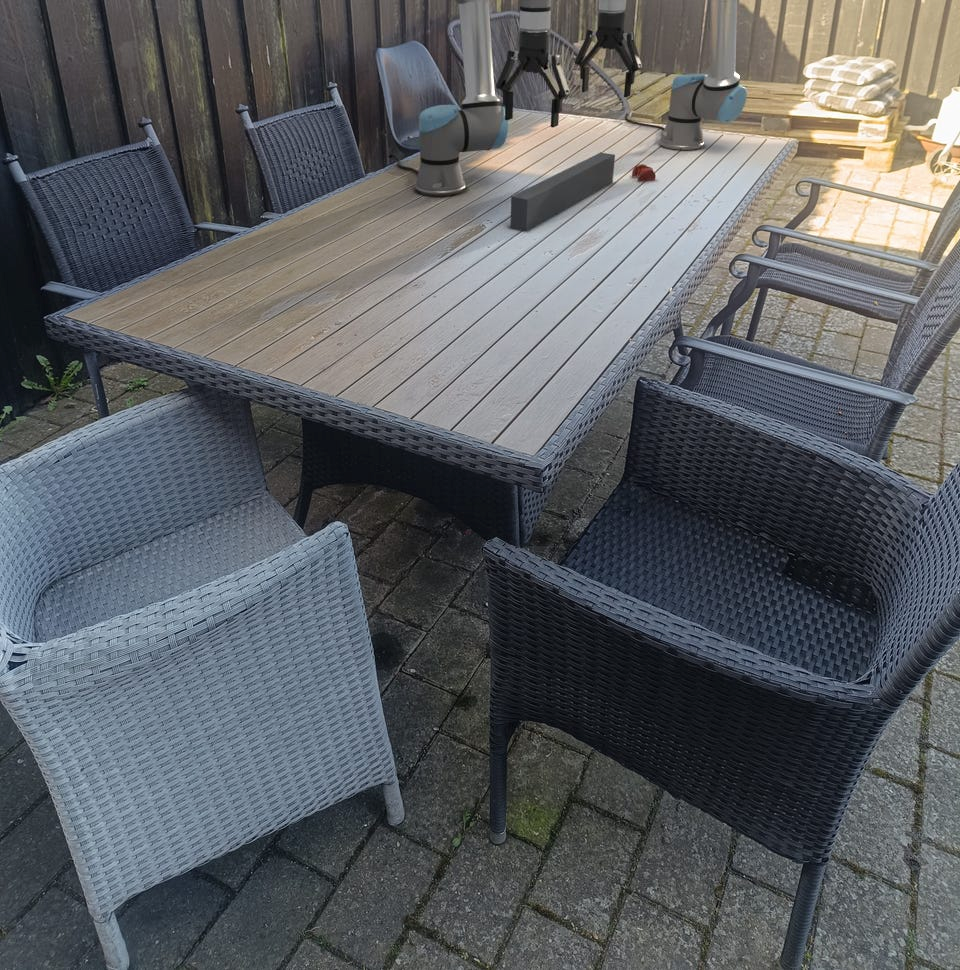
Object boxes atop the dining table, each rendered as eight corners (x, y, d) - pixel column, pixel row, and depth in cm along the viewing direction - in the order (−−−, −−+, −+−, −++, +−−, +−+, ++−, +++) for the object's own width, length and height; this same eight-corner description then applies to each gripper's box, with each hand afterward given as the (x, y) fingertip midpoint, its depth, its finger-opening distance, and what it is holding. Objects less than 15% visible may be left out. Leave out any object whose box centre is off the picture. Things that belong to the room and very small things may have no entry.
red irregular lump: (647, 160, 269) (657, 167, 263) (646, 174, 272) (656, 181, 265) (631, 162, 268) (641, 169, 262) (630, 176, 271) (640, 183, 264)
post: (526, 231, 228) (527, 199, 223) (510, 227, 230) (511, 196, 225) (612, 182, 264) (615, 154, 259) (598, 180, 267) (600, 152, 262)
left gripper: (587, 32, 202) (581, 126, 214) (499, 24, 213) (497, 113, 225) (573, 36, 197) (567, 132, 209) (483, 27, 208) (482, 119, 220)
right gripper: (659, 12, 231) (650, 96, 244) (578, 7, 242) (573, 87, 255) (647, 16, 226) (639, 101, 239) (565, 10, 237) (562, 91, 250)
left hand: (531, 122), depth 217 cm, fingers open, 13 cm apart
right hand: (605, 94), depth 247 cm, fingers open, 13 cm apart
